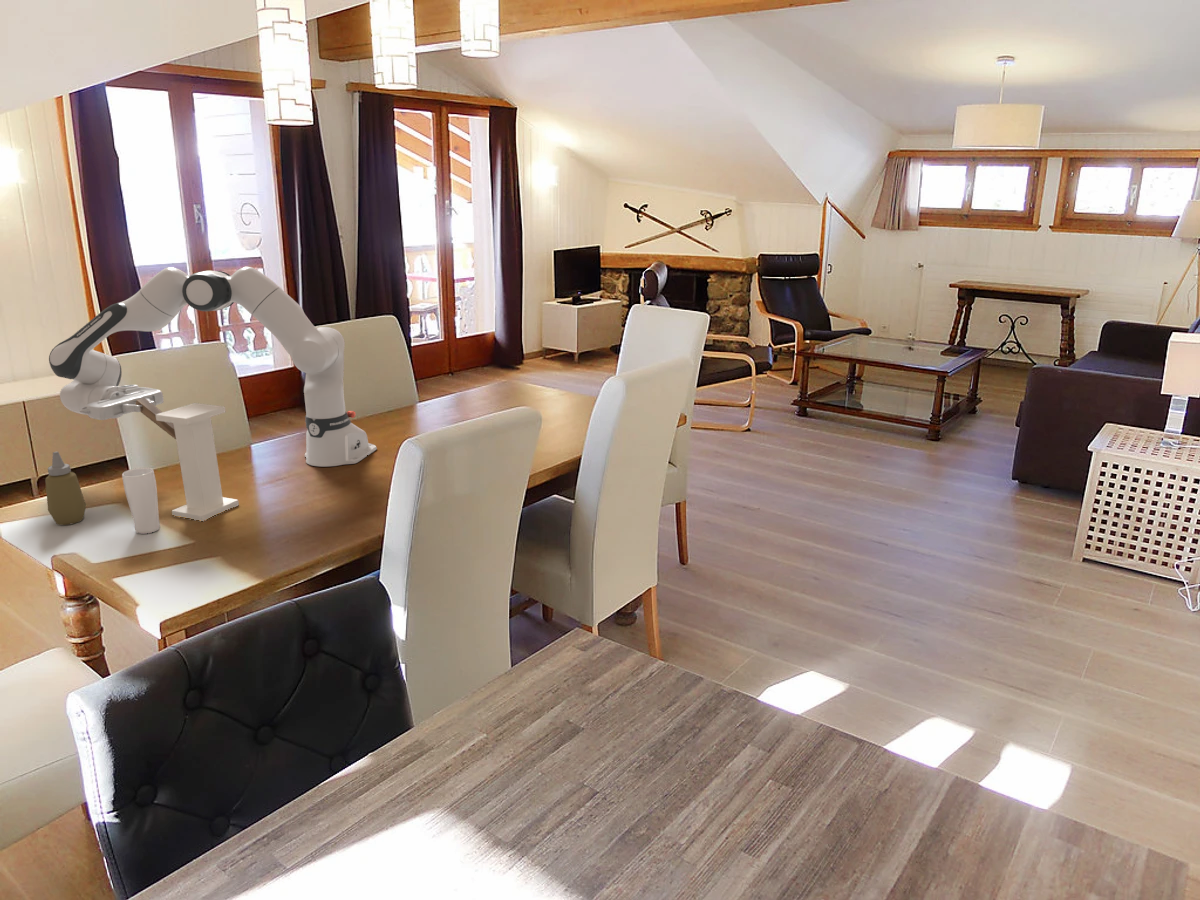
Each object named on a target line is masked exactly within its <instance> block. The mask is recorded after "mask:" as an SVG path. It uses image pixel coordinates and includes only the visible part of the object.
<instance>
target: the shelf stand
mask: <svg viewBox="0 0 1200 900" xmlns="http://www.w3.org/2000/svg"><path fill="white" fill-rule="evenodd" d="M225 413H226V407H225V406H224V405H215V404H209V403H199V402H193V403H189V404H186V405H182V406H179V407H177V408H173V409H168V410H166V411H162V413H159V414H156V421H163V422H171V423H173V424H174V430H175V436H176V439H175V440H176V447H177V454H178V460H179V465H180V470H181V471H180V473H181V477H182V478H181V479H182V484H183V490H184V495H185V496H184V498H185V502H186V503H185V504H184V505H181V506H179V507H177V508H175V509H172V510H171V514H172V515H175V516H181V517H186V518H191V519H194V520H193V521H196V520H201V521H203V522H205V521H207V520H206V519H208V518H210V517H212V516H214V515H216V514H218V513H221V512H223V511H225V510H227V511H229V510H231V509H230V508H232V509H233V507H234V508H235V507H238V506H239V505H240V504H239V499H236V498H232V497H230V498H229V497H224V496H223V491H222V485H221V484H222V483H221V477H220V472H219V471H220V470H219V464H218V457H217V451H216V444H215V443H216V442H215V436H214V430H213V424H212V417H216V416H219V415H222V414H225ZM228 509H229V510H228ZM225 512H226V511H225ZM223 513H224V512H223ZM221 514H222V513H221ZM172 515H171V516H172ZM175 516H174V517H175ZM216 516H217V515H216ZM214 517H215V516H214ZM212 518H213V517H212ZM191 519H190V520H191ZM210 519H211V518H210ZM204 520H205V521H204ZM208 520H209V519H208ZM201 521H200V522H201Z"/></svg>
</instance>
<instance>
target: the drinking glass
mask: <svg viewBox="0 0 1200 900" xmlns="http://www.w3.org/2000/svg"><path fill="white" fill-rule="evenodd" d="M121 477H122V483H123V489H124V493H125V497H126V501H127V504H128V507H129V510H130V514H131V517H132V520H133V524H134V531H135V532H136V533H137V534H139V535H141V534H142V535H146V534H147V533H148V534H152V532H153V533H155V532H157V531H159V530H160V528H161V524H160V523H161V522H160V516H159V515H160V514H159V503H158V501H159V500H158V489H157V481H156V476H155V472H154V469H153V468H151V467H137V468H136V467H135V468H132V469H128V470H125V471H124V472H122V474H121ZM148 534H147V535H148Z"/></svg>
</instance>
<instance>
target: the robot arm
mask: <svg viewBox="0 0 1200 900" xmlns="http://www.w3.org/2000/svg"><path fill="white" fill-rule="evenodd" d="M234 303H236V304H238V305H240V306H241V307H243V308H244V309H245V310H246V311H247V312H249V315H251V316H252V317H254V318H255V319H256V320H257V321H258V322H259V323H260V325H262V326H263V327H265V328H266V329H267V330H268V331H269V332H270V333H271V334H272V335H273V336H274V337H275V338H276V339H277V341H278V342H279V343H280V345H281V346H282V347H283V349H284V350H285V351H286V352H287V353H288V355H289V356H290V357H291V360H292V363H293V365H294V366H295V367H296V368H297V369H298V370H299V371H301V372H302V373H305V380H304V386H303V393H304V394H303V395H304V403H305V412H306V413H305V414H306V415H305V421H304V423H305V427H306V429H307V430H306V433H305V436H306V437H305V439H306V441H305V442H306V444H305V445H306V448H305V450H306V452H305V453H304V458H305V457H306V458H305V463H306V464H307V465H309V466H314V467H320V468H321V467H337V466H342V465H354V464H357V463H359V462H360V461H362V460H363V459H365V458H367V457H368V456H369V455H371V454H372V453H374V452H375V451H376V450H377V449H378V448H377V446H376V445H375V444H373V443H369V440H368V439H369V438H368V435H367V433H366V431H365V430H363V429H361V428H360V427H358V426H357V425H355V424H354V423H352V421H351V419H354V418H355V417H356V415H357V414H356V411H354V410H348V411H346V403H345V394H344V393H345V392H344V375H345V373H344V371H345V346H346V345H345V344H346V343H345V339H344V335H342V333H341V332H340V331H339V330H338V329H336V328H333V327H329V326H320V327H316V326H315V325H314V324H313V323H312V322H311V320H310V319H309V318H308V316H307V315H306V313H305V312H304V309H303V307H302V306H301V305H300V304H299V303H298V302H297V301H295V300H294V298H292V297H291V296H290V295H289V294H288V293H287V292H286V291H284V289H282V288H281V287H280V286H279V285H278V284H277V283H276V282H274V281H273V280H272V279H271V278H269V277H268V276H266V275H265V274H264V273H262V272H261V271H260V270H258V269H256V268H255V267H252V266H244V267H241V268H238V269H237V270H235V272H234V273H232V275H230V274H229V273H227V272H225V271H221V270H203V271H198V272H195V273H192V274H190V275H188V273H186V272H185V271H183V270H181V269H179V268H177V267H173V266H172V267H171V266H170V267H168V266H167V267H165V268H163V269H162V270H160V271H159V272H157V273H156V274H155V275H154V276H152V277H151V278H150V279H149V280H148V281H146V283H145V284H144V285H143V286H142V287H141V288H140V289H138V291H137V292H136V293H134V294H133V295H132V296H130V297H129V298H126V299H125V300H123V301H120V302H117V303H113V304H110V305H109V306H108V307H106V308H104V309H103V310H101V312H99V313H98V314H97V315H96V316H94V317H93V318H92V319H91V320H89V321H88V322H87V323H86V324H84V326H82V327H81V328H80V329H79V330H77V331H76V332H75V333H73V335H71V336H69V337H68V338H66V339H64V340H62V341H61V342H59V343H58V344H57V345H55V346H54V347H53V348H52V349H51V351H50V353H49V356H48V361H49V362H48V363H49V366H50V369H51V370H52V372H53V373H54V374H55V376H56V377H59V378H63V379H68V380H71V382H69V383H68V384H66V385H64V386H62V388H61V389H60V391H59V400H60V402H61V404H62V405H63V406H64V407H65V408H66V409H67V410H68V411H70V412H73V413H76V414H81V415H87V416H88V417H89V418H90V419H93V420H98V421H107V420H110V419H118V418H120V417H122V416H123V415H127V414H130V413H141V411H143V405H141V404H136V400H138V399H142V398H145V399H147V400H148V401H149V402H150V403H152V404H153V405H154V406H156V407H157V405H161V404H164V400H165V399H164V395H163V394H164V393H163V392H162V390H161V389H157V388H152V387H145V386H139V385H138V384H127V385H120V383H121V378H122V366H121V363H120V361H119V360H118V358H117V357H115V356H112V355H110V354H107V353H103V352H102V351H97V350H94V349H95V347H97V346H98V345H100V344H101V343H102V342H103V341H104V340H105V339H107V338H108V337H109V336H110V335H112V334H115V333H117V332H124V331H125V332H126V331H137V332H155V331H159V330H162V329H164V328H165V327H166V326H168V325H169V324H170V323H171V321H172V320H174V318H175V317H176V316H177V315H178V314H179V313H180V311H182V310H183V308H184V307H186V306H187V305H188V306H190V307H191V308H193V309H194V310H197V311H200V312H213V311H214V312H216V311H217V312H218V311H220V310H223V309H226V308H229V307H230V306H232V305H234ZM135 404H136V405H135ZM350 418H351V419H350ZM367 455H368V456H367Z"/></svg>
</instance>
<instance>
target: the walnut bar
mask: <svg viewBox="0 0 1200 900" xmlns="http://www.w3.org/2000/svg"><path fill="white" fill-rule="evenodd" d="M136 404H141V405H143V411H141V412H140V413H141V414H142V415H144V416H145V417H146V418H148V420H150V421H151V422H153V423H154V424H155V425H156V426H157V427H159V428H160V429H161V430H163V431H164V432H165V433H167V434H168V435H170V436H171V437H172V438H173V439H174V440H176V436H175V430H174V424H173V423H171V422H163V421H156V414H159V413H162V412H163V411H162V410H161V409H159V408H158V407H157V405H156V406H154V405H153V404H152V403H150V402H149V401H148V400H147V399H145V398H142V399H138V400H136ZM136 404H135V405H136Z"/></svg>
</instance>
